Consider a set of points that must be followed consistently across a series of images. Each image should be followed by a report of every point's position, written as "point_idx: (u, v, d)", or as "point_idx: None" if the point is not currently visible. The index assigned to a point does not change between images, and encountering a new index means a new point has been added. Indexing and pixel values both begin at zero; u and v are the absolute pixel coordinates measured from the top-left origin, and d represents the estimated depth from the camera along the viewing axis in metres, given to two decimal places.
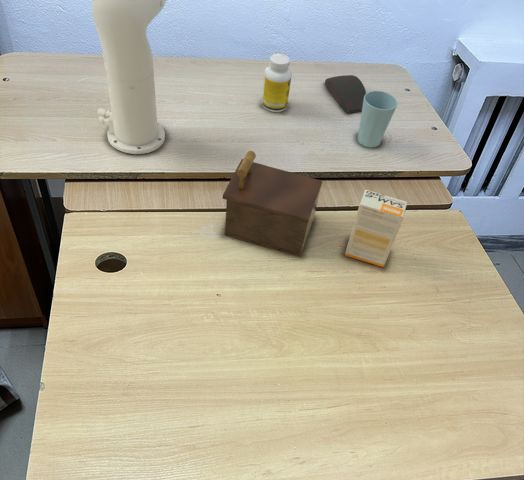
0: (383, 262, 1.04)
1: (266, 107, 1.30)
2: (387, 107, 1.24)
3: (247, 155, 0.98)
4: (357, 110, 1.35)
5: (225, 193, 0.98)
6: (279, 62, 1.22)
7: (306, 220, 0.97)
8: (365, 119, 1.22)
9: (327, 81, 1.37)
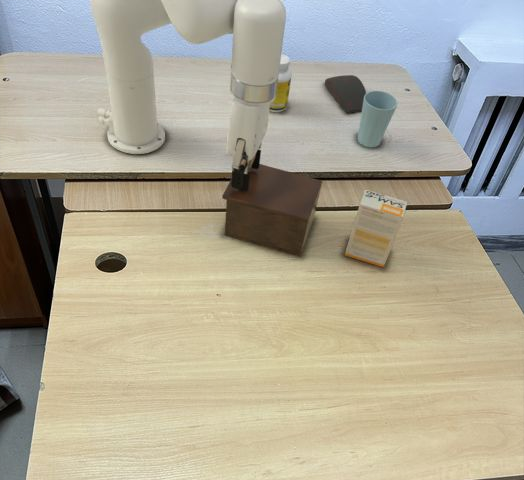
0: (383, 262, 1.04)
1: None
2: (387, 107, 1.24)
3: None
4: (357, 110, 1.35)
5: (225, 193, 0.98)
6: None
7: (306, 220, 0.97)
8: (365, 119, 1.22)
9: (327, 81, 1.37)
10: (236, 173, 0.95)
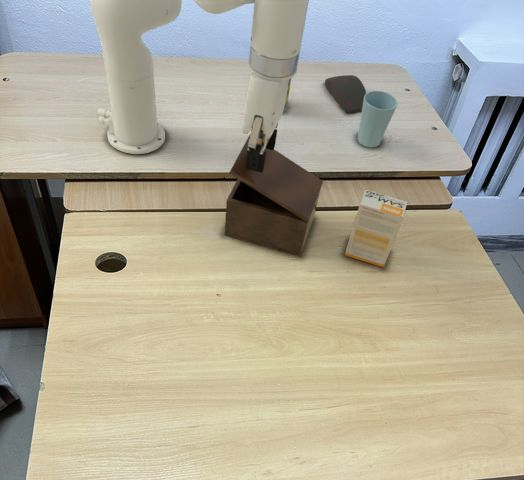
0: (383, 262, 1.04)
1: None
2: (387, 107, 1.24)
3: None
4: (357, 110, 1.35)
5: (233, 169, 0.93)
6: None
7: (306, 220, 0.97)
8: (365, 119, 1.22)
9: (327, 81, 1.37)
10: (251, 153, 0.91)
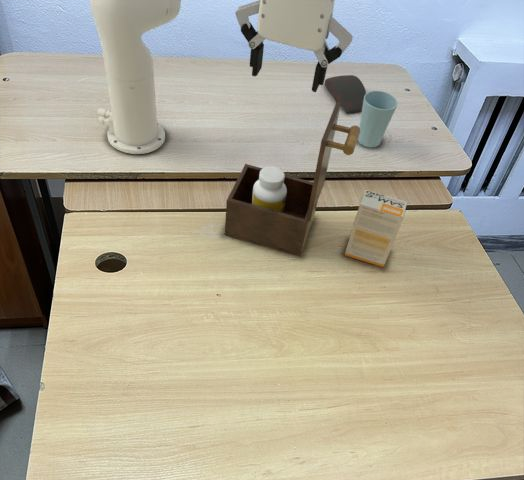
0: (383, 262, 1.04)
1: None
2: (387, 107, 1.24)
3: (358, 134, 0.89)
4: (357, 110, 1.35)
5: (326, 140, 0.84)
6: (270, 180, 0.97)
7: (308, 219, 0.96)
8: (365, 119, 1.22)
9: (327, 81, 1.37)
10: None
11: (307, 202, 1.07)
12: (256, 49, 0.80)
